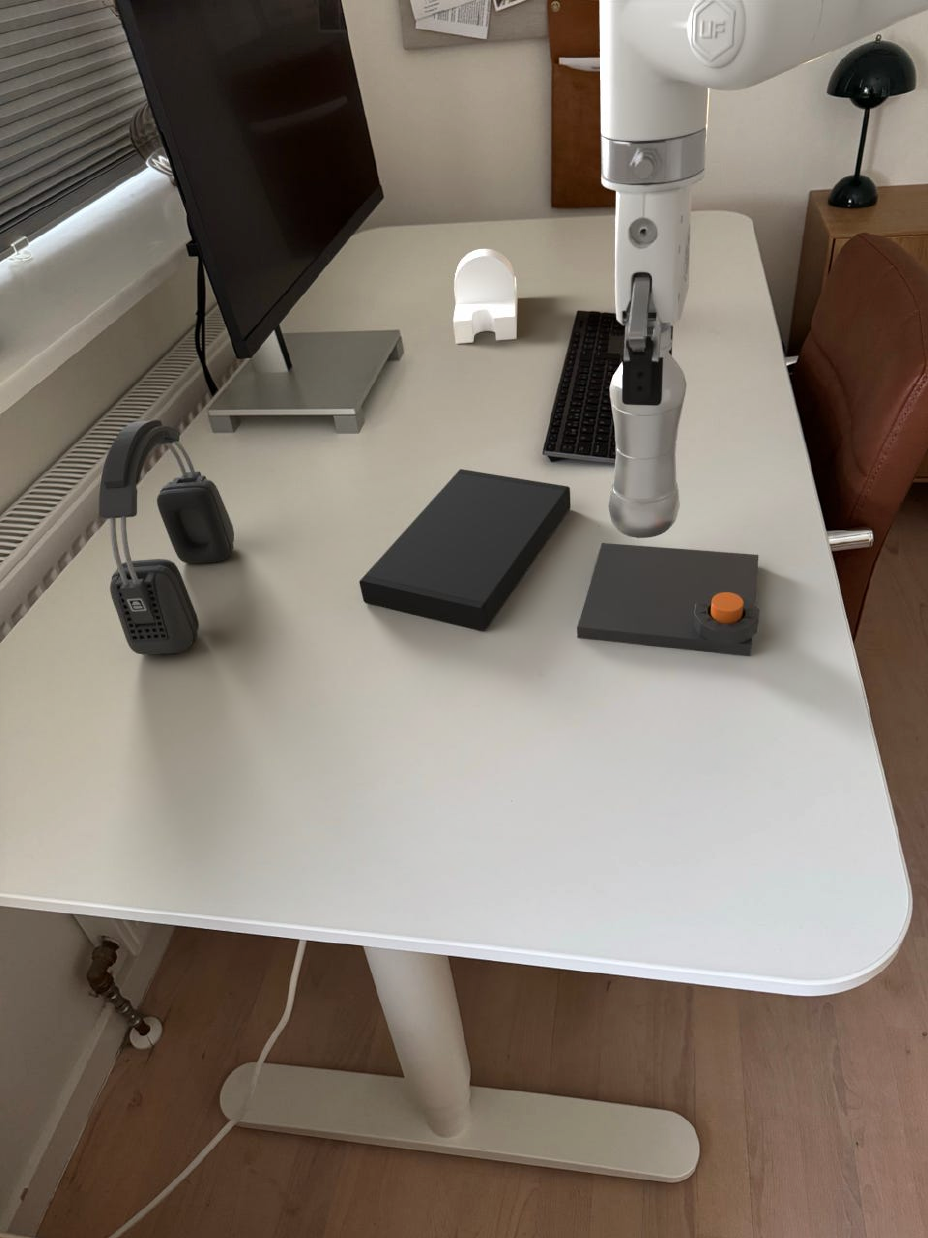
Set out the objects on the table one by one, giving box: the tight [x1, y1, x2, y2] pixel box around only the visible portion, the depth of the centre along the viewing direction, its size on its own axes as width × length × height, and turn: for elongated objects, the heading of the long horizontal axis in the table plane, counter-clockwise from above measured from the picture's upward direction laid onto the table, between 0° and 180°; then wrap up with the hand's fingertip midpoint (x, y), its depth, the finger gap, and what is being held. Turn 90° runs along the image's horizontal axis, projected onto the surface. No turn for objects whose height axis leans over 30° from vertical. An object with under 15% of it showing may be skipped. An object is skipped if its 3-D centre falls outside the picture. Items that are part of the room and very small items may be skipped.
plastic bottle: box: [608, 318, 687, 539], centre depth 80 cm, size 6×7×20 cm
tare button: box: [711, 592, 744, 624], centre depth 82 cm, size 3×3×2 cm
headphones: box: [98, 419, 235, 656], centre depth 92 cm, size 22×6×20 cm, turn 178°
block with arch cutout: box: [452, 248, 518, 345], centre depth 146 cm, size 18×10×11 cm, turn 177°
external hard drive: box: [358, 468, 571, 632], centre depth 97 cm, size 14×23×3 cm, turn 154°
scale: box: [576, 542, 760, 657], centre depth 88 cm, size 16×14×3 cm
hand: (647, 382), depth 77 cm, fingers closed on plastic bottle, 6 cm apart
